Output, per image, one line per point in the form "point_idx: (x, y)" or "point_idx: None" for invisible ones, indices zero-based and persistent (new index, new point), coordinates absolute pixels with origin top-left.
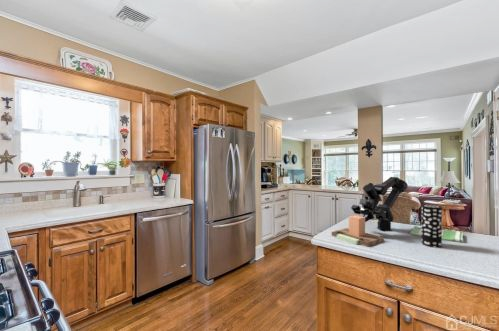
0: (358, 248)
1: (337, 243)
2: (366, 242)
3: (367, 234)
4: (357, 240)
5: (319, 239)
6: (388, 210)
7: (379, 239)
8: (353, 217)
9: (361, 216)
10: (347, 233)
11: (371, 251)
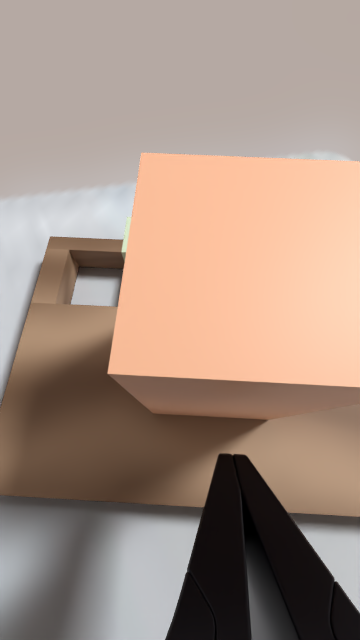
0: (91, 196)
1: None
2: (58, 237)
3: (143, 450)
4: (125, 231)
5: (324, 159)
6: None
7: (4, 409)
8: (264, 162)
9: (225, 381)
10: None
11: (17, 208)
